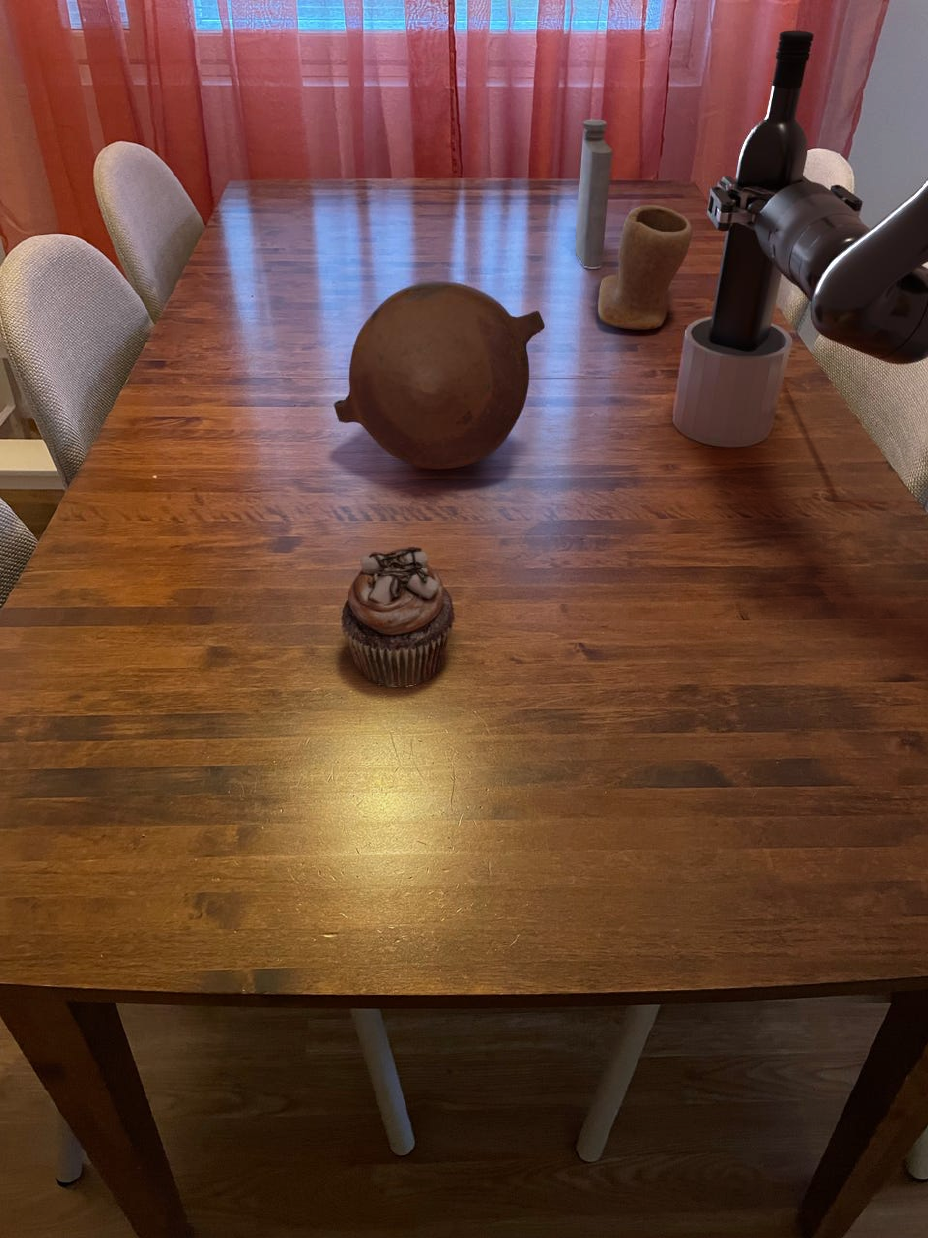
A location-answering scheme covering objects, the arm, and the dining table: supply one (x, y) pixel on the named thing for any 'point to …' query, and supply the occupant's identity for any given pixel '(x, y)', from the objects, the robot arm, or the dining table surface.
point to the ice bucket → (729, 388)
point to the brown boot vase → (644, 268)
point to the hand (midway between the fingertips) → (760, 185)
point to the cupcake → (398, 618)
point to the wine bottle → (768, 164)
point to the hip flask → (593, 194)
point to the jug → (439, 374)
